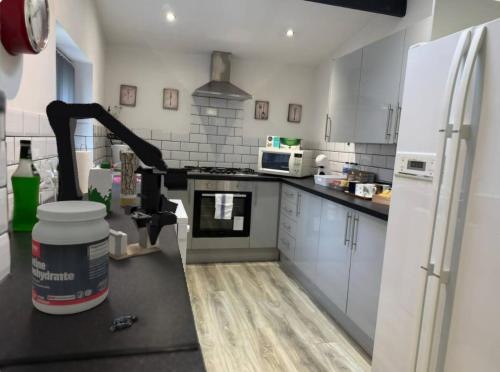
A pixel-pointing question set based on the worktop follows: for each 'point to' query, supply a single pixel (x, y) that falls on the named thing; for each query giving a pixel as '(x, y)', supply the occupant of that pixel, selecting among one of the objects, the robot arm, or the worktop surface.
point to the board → (135, 251)
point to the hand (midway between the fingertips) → (149, 243)
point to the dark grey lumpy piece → (123, 323)
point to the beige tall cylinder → (128, 178)
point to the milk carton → (100, 185)
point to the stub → (146, 239)
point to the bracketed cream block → (117, 243)
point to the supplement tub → (70, 256)
